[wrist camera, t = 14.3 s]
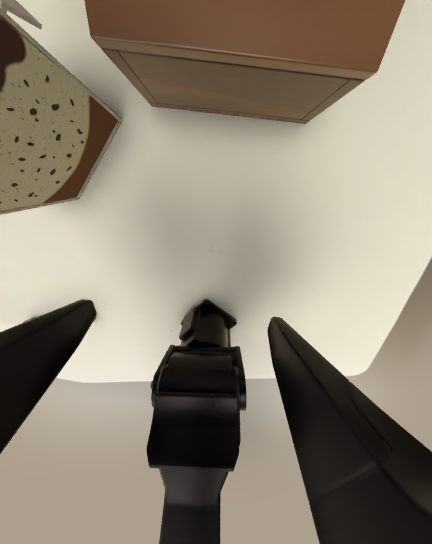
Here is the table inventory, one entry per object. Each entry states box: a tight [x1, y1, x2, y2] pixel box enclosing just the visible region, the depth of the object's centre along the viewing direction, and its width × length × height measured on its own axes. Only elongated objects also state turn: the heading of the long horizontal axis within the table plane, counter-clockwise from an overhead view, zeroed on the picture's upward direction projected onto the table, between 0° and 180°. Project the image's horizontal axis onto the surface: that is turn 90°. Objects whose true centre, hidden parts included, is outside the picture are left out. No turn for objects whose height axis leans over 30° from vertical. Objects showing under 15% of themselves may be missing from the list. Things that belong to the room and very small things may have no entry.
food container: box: [0, 0, 122, 215], centre depth 11 cm, size 12×6×10 cm, turn 134°
